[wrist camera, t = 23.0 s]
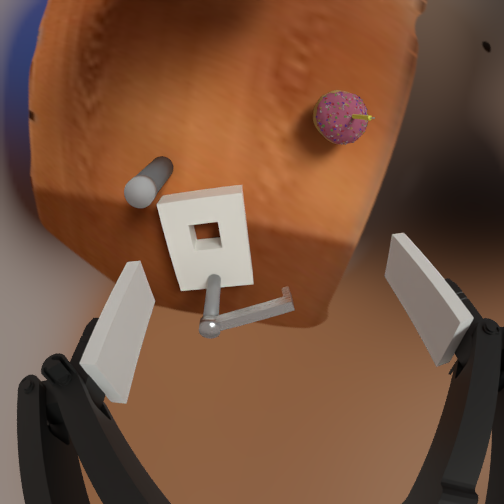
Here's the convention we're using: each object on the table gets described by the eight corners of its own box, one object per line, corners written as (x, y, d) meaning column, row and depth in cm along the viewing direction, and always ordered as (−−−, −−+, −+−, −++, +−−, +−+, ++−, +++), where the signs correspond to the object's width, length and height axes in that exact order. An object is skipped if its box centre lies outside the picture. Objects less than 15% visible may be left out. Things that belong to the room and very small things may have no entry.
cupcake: (343, 82, 38) (375, 82, 28) (363, 127, 42) (398, 140, 32) (298, 102, 40) (317, 106, 30) (321, 147, 44) (345, 166, 34)
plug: (148, 158, 44) (120, 181, 33) (171, 153, 44) (150, 175, 33) (153, 181, 46) (128, 210, 36) (176, 177, 46) (157, 205, 36)
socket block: (162, 195, 48) (136, 236, 35) (241, 184, 48) (242, 223, 35) (184, 278, 57) (171, 332, 45) (252, 271, 57) (256, 326, 44)
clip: (286, 282, 42) (290, 300, 39) (292, 297, 44) (296, 315, 41) (197, 308, 44) (195, 327, 41) (206, 322, 46) (204, 340, 43)
